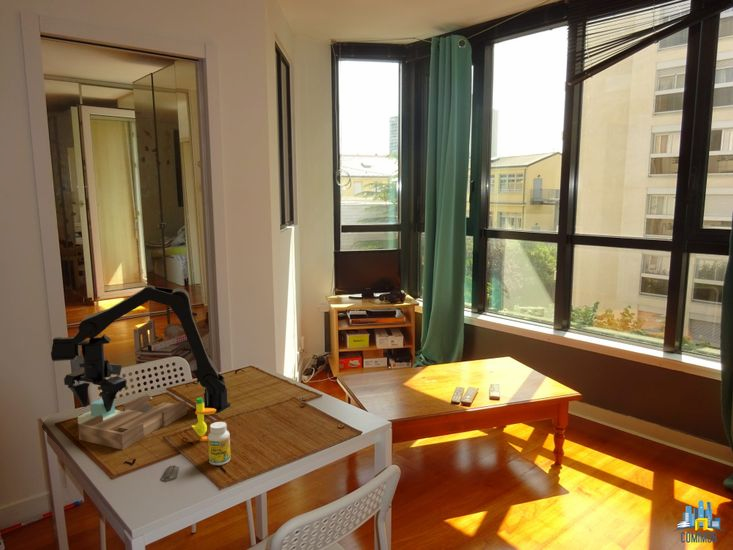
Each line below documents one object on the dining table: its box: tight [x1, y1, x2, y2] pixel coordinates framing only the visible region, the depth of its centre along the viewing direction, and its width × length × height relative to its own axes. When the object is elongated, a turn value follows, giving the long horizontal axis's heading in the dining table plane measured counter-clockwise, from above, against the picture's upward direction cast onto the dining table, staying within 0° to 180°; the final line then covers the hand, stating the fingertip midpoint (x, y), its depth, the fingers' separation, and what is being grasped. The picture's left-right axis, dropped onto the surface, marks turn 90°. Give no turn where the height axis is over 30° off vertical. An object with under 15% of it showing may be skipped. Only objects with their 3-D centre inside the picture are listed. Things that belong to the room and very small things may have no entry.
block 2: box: [160, 465, 180, 482], centre depth 125 cm, size 4×6×2 cm, turn 11°
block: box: [89, 397, 116, 418], centre depth 154 cm, size 4×4×4 cm
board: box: [77, 409, 123, 425], centre depth 155 cm, size 10×8×2 cm
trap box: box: [77, 393, 188, 451], centre depth 151 cm, size 16×25×4 cm, turn 159°
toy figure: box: [191, 397, 217, 442], centre depth 142 cm, size 7×4×12 cm, turn 99°
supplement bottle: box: [207, 421, 232, 466], centre depth 131 cm, size 5×5×10 cm
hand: (96, 408), depth 155 cm, fingers open, 9 cm apart
